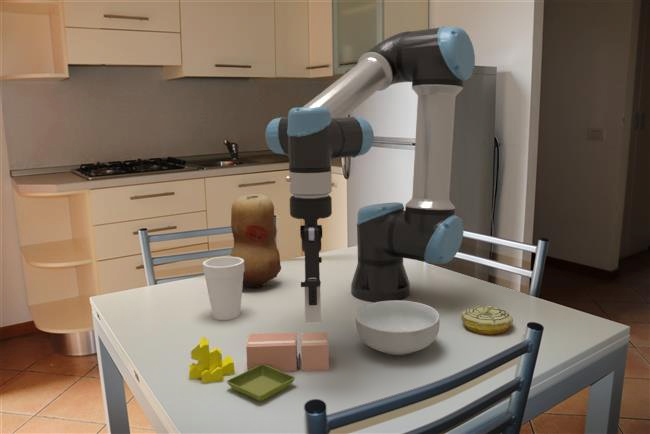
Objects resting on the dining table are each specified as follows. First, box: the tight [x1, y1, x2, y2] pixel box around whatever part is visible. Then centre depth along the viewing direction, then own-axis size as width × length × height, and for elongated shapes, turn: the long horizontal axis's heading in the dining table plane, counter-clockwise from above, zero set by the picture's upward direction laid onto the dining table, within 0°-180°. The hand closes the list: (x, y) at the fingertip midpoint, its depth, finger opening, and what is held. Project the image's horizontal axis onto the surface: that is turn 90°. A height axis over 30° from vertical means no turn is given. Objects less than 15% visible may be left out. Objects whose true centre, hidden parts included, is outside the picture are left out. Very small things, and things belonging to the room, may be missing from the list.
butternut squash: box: [229, 193, 282, 288], centre depth 154 cm, size 14×13×25 cm
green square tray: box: [226, 364, 296, 402], centre depth 99 cm, size 9×9×2 cm
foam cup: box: [202, 256, 245, 321], centre depth 133 cm, size 10×9×13 cm
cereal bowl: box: [354, 299, 441, 356], centre depth 114 cm, size 17×17×7 cm
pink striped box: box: [245, 332, 301, 372], centre depth 108 cm, size 10×6×5 cm, turn 92°
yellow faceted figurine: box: [188, 336, 235, 384], centre depth 104 cm, size 6×8×8 cm
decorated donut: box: [461, 305, 514, 336], centre depth 124 cm, size 10×11×4 cm
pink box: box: [300, 331, 330, 372], centre depth 108 cm, size 5×6×5 cm
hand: (312, 308), depth 106 cm, fingers open, 13 cm apart
